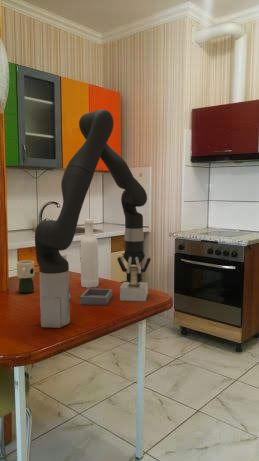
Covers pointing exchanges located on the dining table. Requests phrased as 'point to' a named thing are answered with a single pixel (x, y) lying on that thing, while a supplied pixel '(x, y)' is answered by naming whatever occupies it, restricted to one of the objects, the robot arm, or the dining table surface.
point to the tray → (96, 297)
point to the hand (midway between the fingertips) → (134, 282)
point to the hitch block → (134, 292)
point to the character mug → (25, 275)
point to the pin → (133, 276)
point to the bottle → (89, 257)
